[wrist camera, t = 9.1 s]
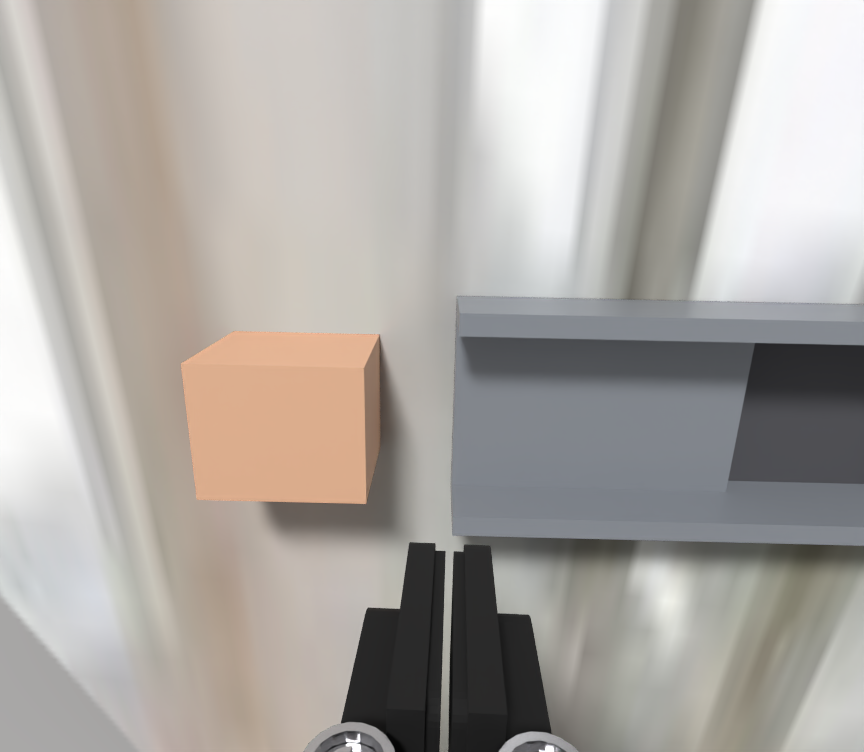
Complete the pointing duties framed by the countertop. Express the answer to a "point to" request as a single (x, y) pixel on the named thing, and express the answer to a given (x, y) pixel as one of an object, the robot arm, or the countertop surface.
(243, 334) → the block
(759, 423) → the grey railed tray
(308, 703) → the countertop surface
